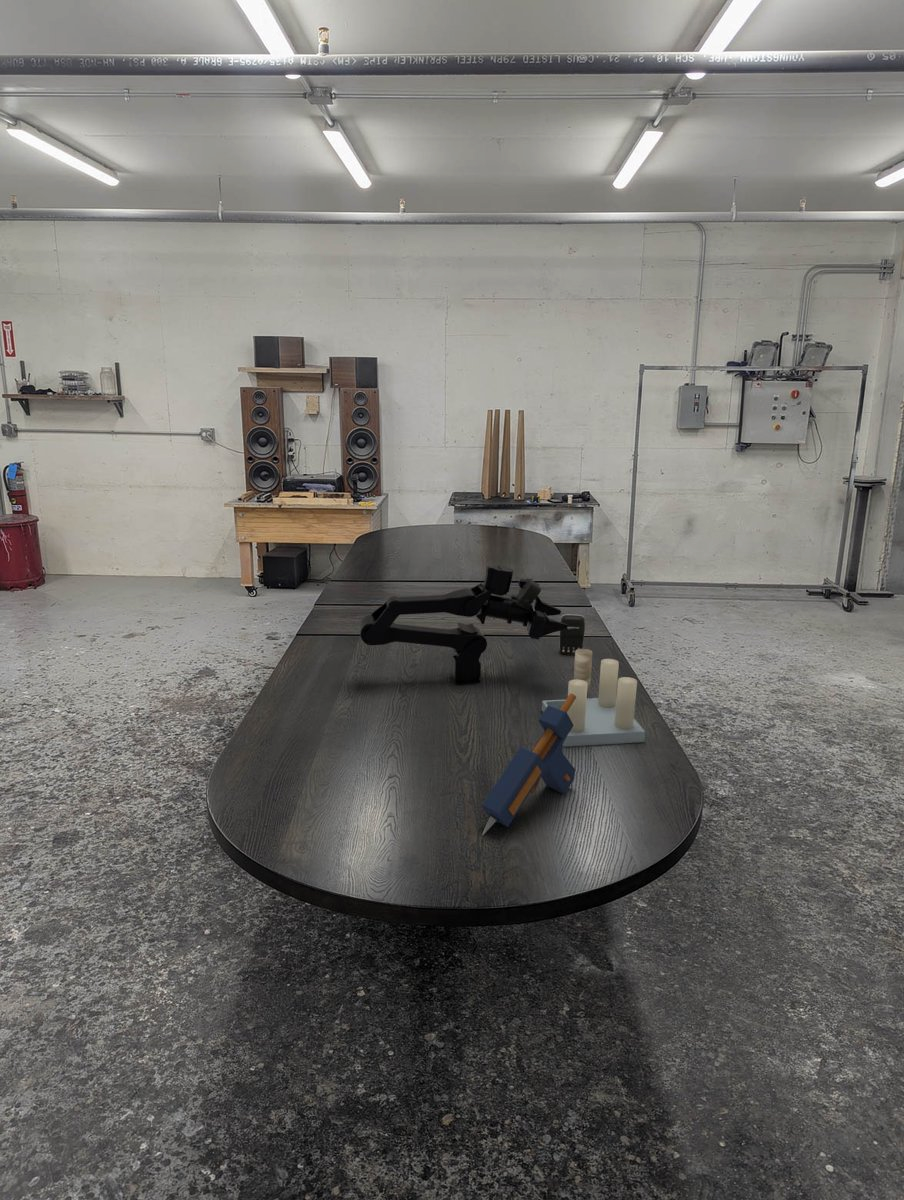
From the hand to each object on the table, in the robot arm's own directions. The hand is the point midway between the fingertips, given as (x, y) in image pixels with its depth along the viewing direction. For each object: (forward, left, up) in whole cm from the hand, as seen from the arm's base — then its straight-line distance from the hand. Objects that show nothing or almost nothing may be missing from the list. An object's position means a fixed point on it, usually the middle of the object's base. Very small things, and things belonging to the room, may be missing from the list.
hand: (563, 619), depth 189 cm
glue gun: (-28, -57, -16) cm, 65 cm away
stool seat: (-4, -28, -16) cm, 32 cm away
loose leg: (-1, -16, -16) cm, 22 cm away
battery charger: (+9, +15, -16) cm, 24 cm away
